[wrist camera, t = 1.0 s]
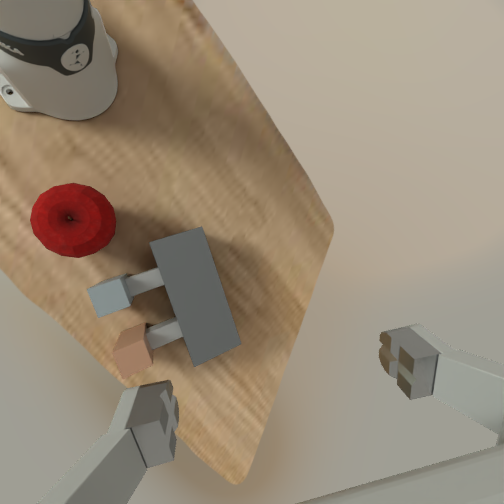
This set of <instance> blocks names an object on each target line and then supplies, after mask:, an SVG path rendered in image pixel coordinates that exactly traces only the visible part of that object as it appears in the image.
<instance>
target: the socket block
mask: <svg viewBox="0 0 504 504" xmlns="http://www.w3.org/2000/svg"><path fill="white" fill-rule="evenodd" d="M149 244H150V246H151V249H152V252H153V255H154V257H155V260H156V263H157V266H158V268H159V271H160V274H161V277H162V280H163V282H164V285H165V288H166V291H167V293H168V296H169V299H170V302H171V304H172V307H173V310H174V313H175V315H176V318H177V321H178V324H179V326H180V329H181V332H182V335H183V337H184V340H185V343H186V346H187V348H188V351H189V354H190V357H191V359H192V362H193V365H194V367H196V366H198V365H200V364H202V363H204V362H206V361H208V360H210V359H212V358H214V357H216V356H218V355H220V354H222V353H224V352H226V351H228V350H230V349H232V348H234V347H236V346H238V345H240V344H241V341H240V338H239V335H238V332H237V329H236V326H235V323H234V320H233V317H232V314H231V311H230V308H229V305H228V302H227V299H226V296H225V293H224V290H223V287H222V284H221V281H220V278H219V275H218V272H217V269H216V266H215V263H214V260H213V257H212V255H211V252H210V249H209V246H208V243H207V240H206V237H205V234H204V231H203V228H202V227H199V228H195V229H192V230H189V231H185V232H182V233H179V234H175V235H172V236H169V237H165V238H162V239H159V240H155V241H152V242H149Z"/></svg>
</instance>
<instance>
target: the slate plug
mask: <svg viewBox="0 0 504 504" xmlns="http://www.w3.org/2000/svg"><path fill="white" fill-rule="evenodd" d="M162 285H164V282H163V280H162V277H161V274H160V271H159V268H158V267H157V268H154V269H151V270H148V271H145V272H142V273H139V274H136V275H133V276H130V277H128V275H127V273H125V274H122V275H119V276H116V277H113V278H110V279H107V280H104V281H101V282H99V283H97V284H96V285H94V286H92V287H90V288H89V289H87V291H88V294H89V296H90V299H91V301H92V304H93V306H94V309H95V311H96V314H97V316H98V318H99V317H102V316H105V315H107V314H110V313H113V312H116V311H118V310H121V309H124V308H126V307H129V306H131V303H132V301H133V299H134V297H135V295H137V294H140V293H143V292H146V291H148V290H151V289H154V288H157V287H159V286H162Z"/></svg>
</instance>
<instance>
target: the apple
mask: <svg viewBox="0 0 504 504" xmlns="http://www.w3.org/2000/svg"><path fill="white" fill-rule="evenodd" d="M30 222H31V225H32V229H33V233H34V235H35V236H36V237H37V238H38V239H39V240H40V241H41V243H42V244H43V245H44V246H45V247H46V249H49V250H51V251H53V252H55V253H57V254H59V255H61V256H68V257H75V258H80V257H84V256H87V255H90V254H94V253H96V252H97V251H99V250H100V249H102V248H104V247H105V246H107V245H108V243H109V242H110V240H111V239H112V237H113V236H114V234H115V227H116V217H115V213H114V209H113V207H112V205H111V204H110V202H109V201H108V200H107V198H106V197H105V196H104V195H103V194H101V193H100V192H98V191H97V190H95V189H94V188H92V187H90V186H85V185H81V184H76V183H70V184H65V185H59V186H54V187H52V188H51V189H49V190H47V191H46V192H44V193H42V194H41V195H40V196H39V198H38V199H37V201H36V202H35V204H34V206H33V208H32V213H31V219H30Z"/></svg>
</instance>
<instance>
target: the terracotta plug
mask: <svg viewBox="0 0 504 504" xmlns="http://www.w3.org/2000/svg"><path fill="white" fill-rule="evenodd" d="M181 337H183V335H182V332H181V329H180V326H179V324H178V321H177V318H176V317H174V318H171V319H169V320H166V321H164V322H161V323H159V324H157V325H154V326H152V327H149V328H147V325H146V323H143V324H140V325H138V326H135V327H133V328H130V329H128V330H125V331H123V332H121V333H120V335H119V337H118V340H117V342H116V344H115V347H114V349H113V352H112V353H113V356H114V358H115V361H116V363H117V366H118V368H119V371H120V373H121V376H122V378H123V379H125V378H127V377H129V376H131V375H133V374H135V373H138V372H140V371H142V370H144V369H146V368H148V367H150V366H153V350H154V349H156V348H158V347H161V346H163V345H165V344H167V343H170V342H172V341H174V340H176V339H179V338H181Z"/></svg>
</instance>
